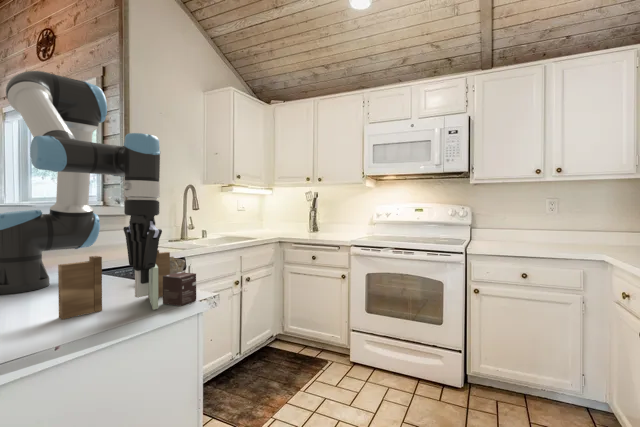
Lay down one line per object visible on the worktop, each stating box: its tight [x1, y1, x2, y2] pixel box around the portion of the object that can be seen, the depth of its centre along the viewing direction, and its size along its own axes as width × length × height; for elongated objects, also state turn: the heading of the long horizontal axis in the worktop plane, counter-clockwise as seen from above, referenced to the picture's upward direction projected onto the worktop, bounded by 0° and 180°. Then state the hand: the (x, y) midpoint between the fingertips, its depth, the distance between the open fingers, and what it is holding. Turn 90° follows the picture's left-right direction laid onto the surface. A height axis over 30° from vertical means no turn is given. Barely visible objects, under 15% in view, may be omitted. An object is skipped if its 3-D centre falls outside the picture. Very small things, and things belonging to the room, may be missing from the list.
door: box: [148, 264, 159, 311], centre depth 87 cm, size 12×1×11 cm, turn 31°
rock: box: [170, 256, 186, 274], centre depth 115 cm, size 12×7×10 cm, turn 127°
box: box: [162, 271, 197, 307], centre depth 90 cm, size 6×6×7 cm
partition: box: [57, 249, 171, 320], centre depth 87 cm, size 3×26×13 cm, turn 147°
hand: (141, 295), depth 84 cm, fingers closed
